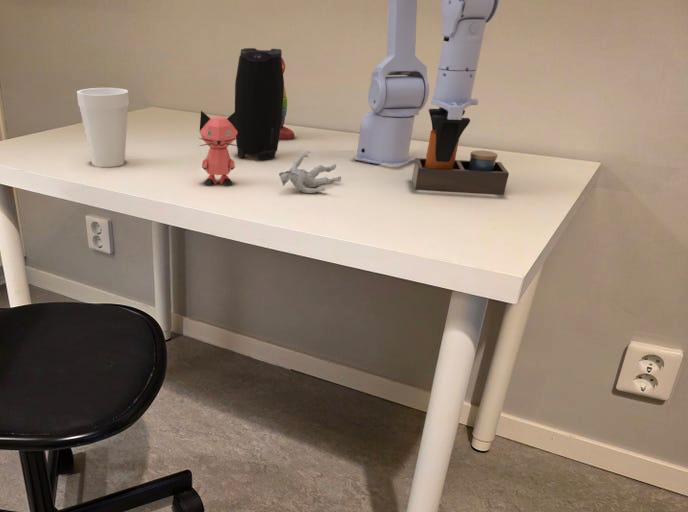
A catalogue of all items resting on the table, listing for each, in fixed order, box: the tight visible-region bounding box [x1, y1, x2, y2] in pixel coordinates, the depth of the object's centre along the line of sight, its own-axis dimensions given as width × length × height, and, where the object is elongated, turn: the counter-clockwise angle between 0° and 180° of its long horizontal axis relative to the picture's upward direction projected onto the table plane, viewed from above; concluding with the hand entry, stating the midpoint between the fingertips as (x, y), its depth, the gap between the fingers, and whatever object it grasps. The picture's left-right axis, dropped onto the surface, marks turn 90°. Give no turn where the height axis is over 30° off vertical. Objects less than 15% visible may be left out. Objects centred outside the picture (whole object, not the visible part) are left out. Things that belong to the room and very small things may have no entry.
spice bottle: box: [425, 130, 460, 169], centre depth 106 cm, size 5×5×8 cm
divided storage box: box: [411, 157, 510, 196], centre depth 108 cm, size 7×14×4 cm, turn 78°
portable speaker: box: [234, 47, 285, 161], centre depth 124 cm, size 9×9×20 cm
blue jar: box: [468, 150, 499, 171], centre depth 107 cm, size 4×4×6 cm
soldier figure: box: [278, 150, 342, 194], centre depth 108 cm, size 8×5×12 cm
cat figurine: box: [198, 110, 239, 186], centre depth 109 cm, size 7×7×12 cm
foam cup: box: [76, 87, 130, 168], centre depth 121 cm, size 10×9×13 cm
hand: (440, 157), depth 107 cm, fingers closed on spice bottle, 5 cm apart
